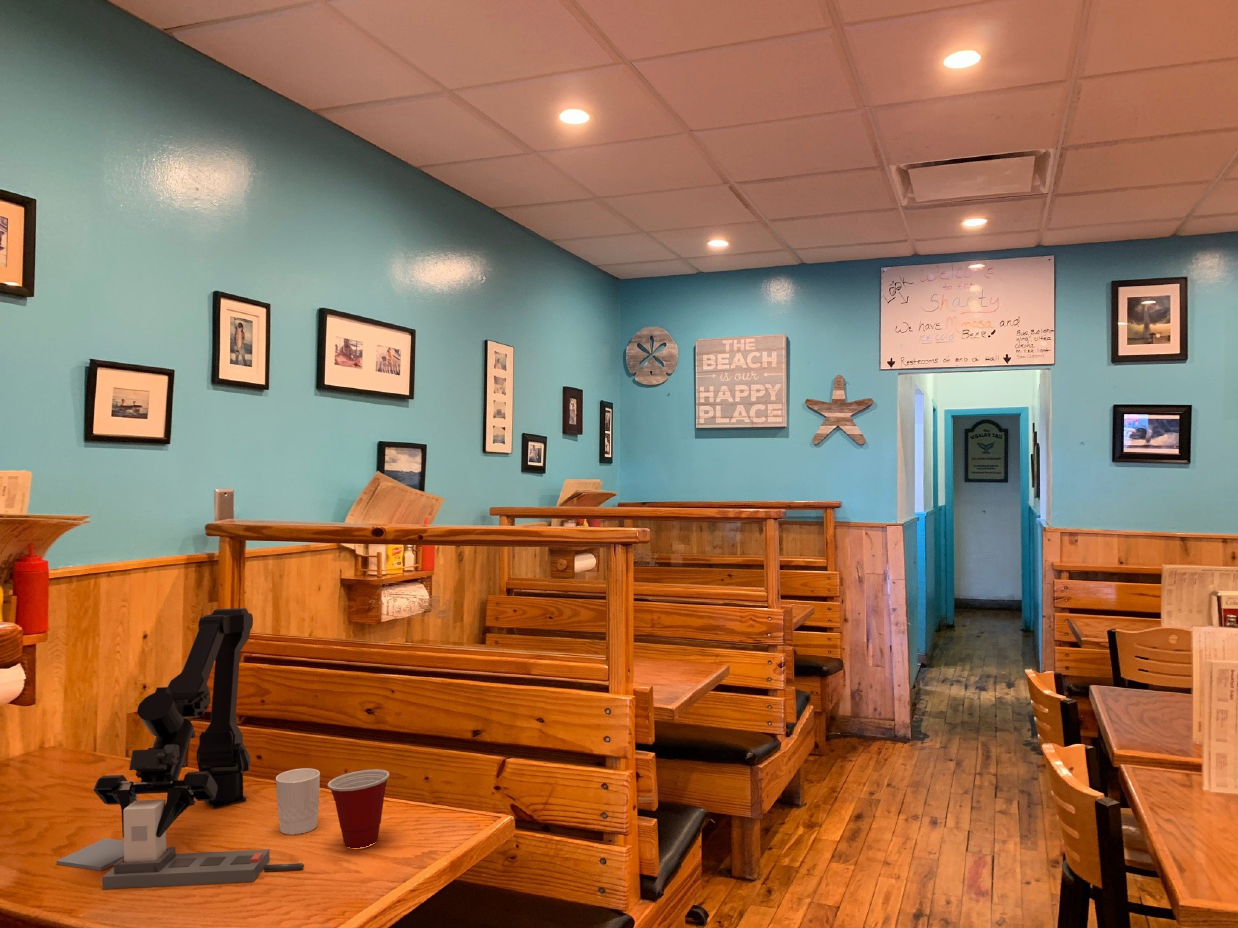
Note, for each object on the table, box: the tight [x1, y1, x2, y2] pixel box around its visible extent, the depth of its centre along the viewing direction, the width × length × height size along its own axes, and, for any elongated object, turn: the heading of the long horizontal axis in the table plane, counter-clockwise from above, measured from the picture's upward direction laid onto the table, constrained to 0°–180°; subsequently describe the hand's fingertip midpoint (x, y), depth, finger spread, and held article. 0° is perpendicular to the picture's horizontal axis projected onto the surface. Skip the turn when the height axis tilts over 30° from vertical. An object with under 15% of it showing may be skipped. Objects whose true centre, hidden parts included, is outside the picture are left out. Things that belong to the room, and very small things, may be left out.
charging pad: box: [55, 837, 124, 871], centre depth 159 cm, size 10×10×1 cm
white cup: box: [275, 767, 321, 836], centre depth 169 cm, size 8×8×10 cm
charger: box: [123, 799, 167, 862], centre depth 150 cm, size 4×5×10 cm
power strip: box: [101, 846, 305, 890], centre depth 150 cm, size 31×8×4 cm, turn 93°
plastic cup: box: [327, 768, 390, 848], centre depth 162 cm, size 11×11×12 cm
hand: (141, 836), depth 148 cm, fingers closed on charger, 5 cm apart
